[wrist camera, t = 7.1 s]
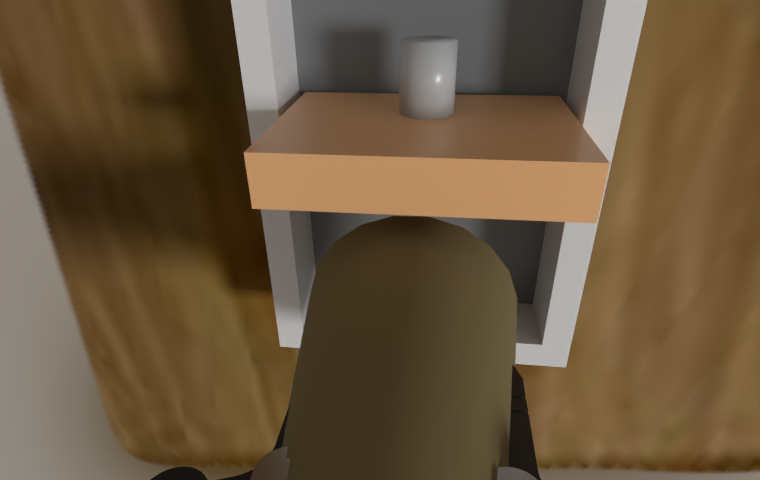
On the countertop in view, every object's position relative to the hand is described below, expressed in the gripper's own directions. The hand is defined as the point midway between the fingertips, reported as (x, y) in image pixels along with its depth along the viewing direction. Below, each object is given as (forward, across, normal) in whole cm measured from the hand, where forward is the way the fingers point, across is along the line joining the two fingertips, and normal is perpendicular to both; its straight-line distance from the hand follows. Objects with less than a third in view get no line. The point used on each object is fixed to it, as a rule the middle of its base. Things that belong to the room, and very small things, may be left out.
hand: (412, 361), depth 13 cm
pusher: (+7, 0, -5) cm, 9 cm away
